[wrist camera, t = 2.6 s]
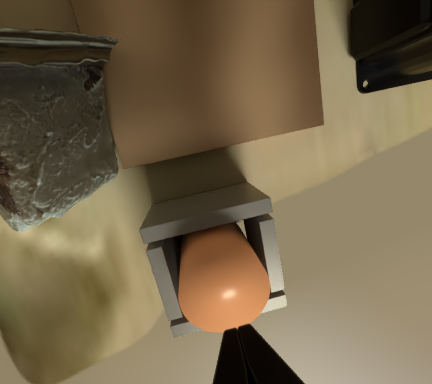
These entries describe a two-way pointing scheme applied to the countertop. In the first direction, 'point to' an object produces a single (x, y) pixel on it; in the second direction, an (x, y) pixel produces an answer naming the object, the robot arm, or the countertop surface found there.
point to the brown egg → (221, 279)
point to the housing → (201, 219)
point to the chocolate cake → (52, 123)
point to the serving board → (204, 72)
